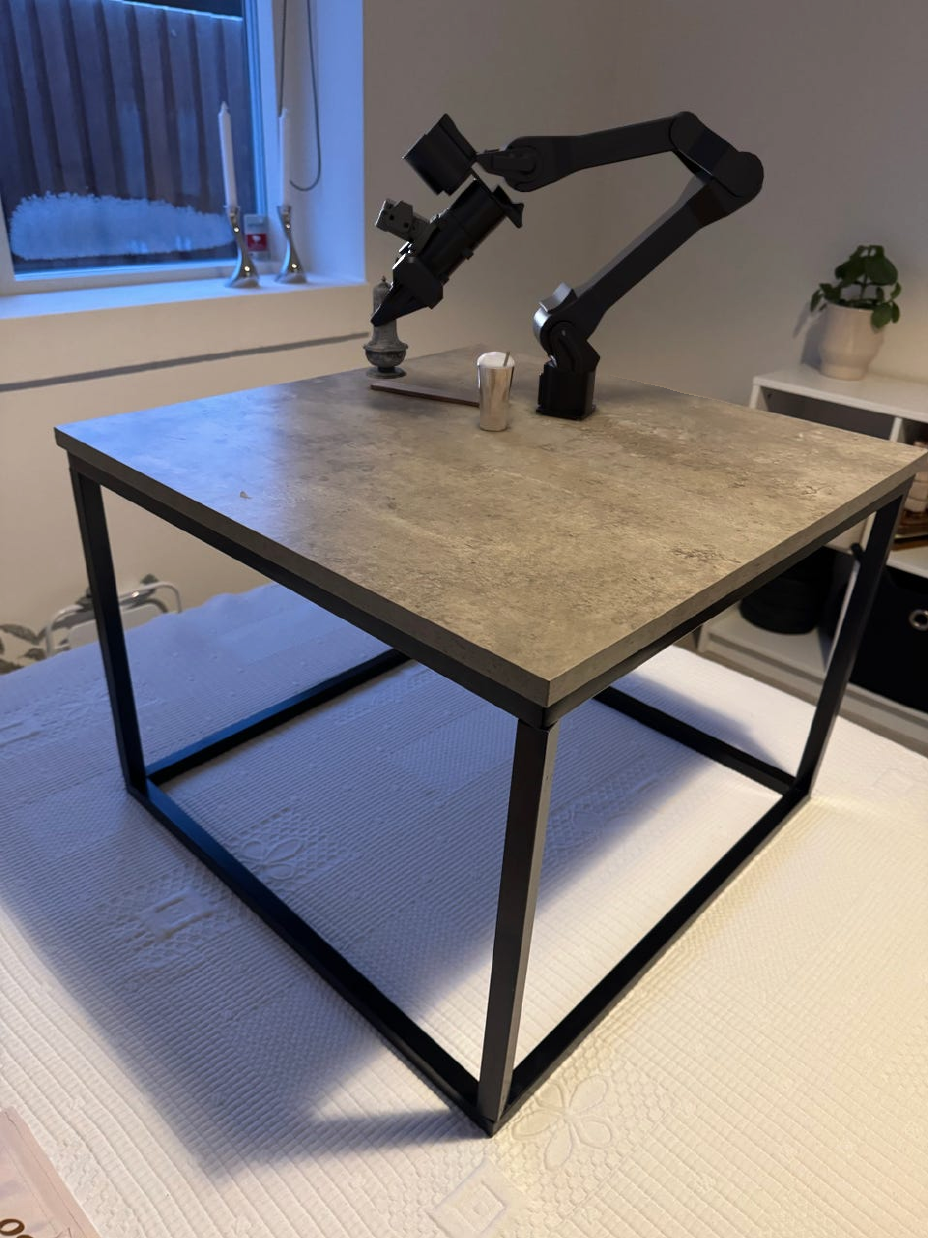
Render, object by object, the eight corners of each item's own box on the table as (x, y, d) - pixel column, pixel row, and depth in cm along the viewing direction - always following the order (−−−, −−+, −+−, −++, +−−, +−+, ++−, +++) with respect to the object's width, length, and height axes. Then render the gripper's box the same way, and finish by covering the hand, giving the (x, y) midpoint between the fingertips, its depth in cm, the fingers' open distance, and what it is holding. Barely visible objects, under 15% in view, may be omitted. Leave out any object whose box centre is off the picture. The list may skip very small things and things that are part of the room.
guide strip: (507, 404, 117) (507, 400, 117) (497, 410, 114) (498, 405, 114) (381, 383, 124) (381, 379, 124) (370, 388, 122) (370, 384, 122)
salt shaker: (375, 381, 108) (372, 280, 102) (355, 371, 112) (351, 273, 106) (416, 376, 110) (416, 277, 104) (396, 366, 115) (394, 270, 109)
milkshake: (487, 436, 105) (491, 352, 100) (469, 423, 109) (472, 342, 104) (520, 432, 106) (525, 349, 101) (501, 420, 110) (505, 340, 105)
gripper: (417, 169, 108) (334, 261, 113) (412, 176, 92) (316, 283, 97) (477, 238, 112) (395, 324, 117) (484, 256, 96) (387, 356, 101)
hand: (374, 321), depth 108 cm, fingers closed on salt shaker, 3 cm apart
